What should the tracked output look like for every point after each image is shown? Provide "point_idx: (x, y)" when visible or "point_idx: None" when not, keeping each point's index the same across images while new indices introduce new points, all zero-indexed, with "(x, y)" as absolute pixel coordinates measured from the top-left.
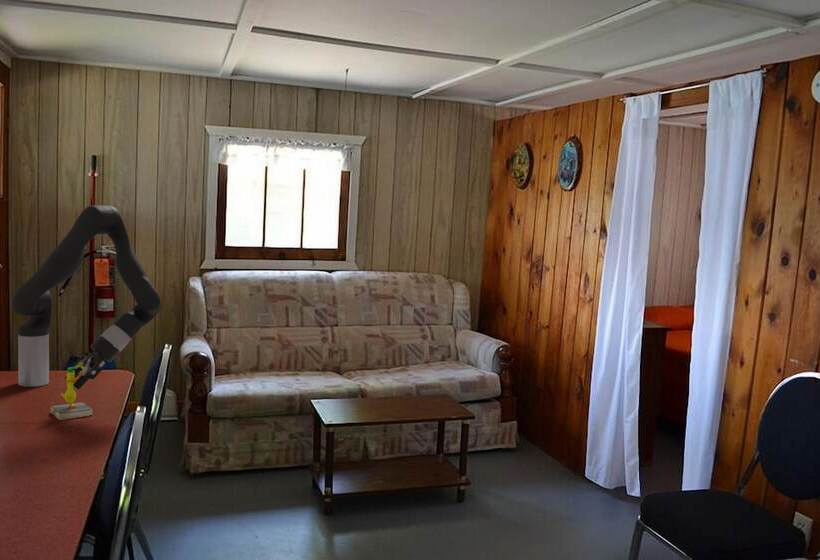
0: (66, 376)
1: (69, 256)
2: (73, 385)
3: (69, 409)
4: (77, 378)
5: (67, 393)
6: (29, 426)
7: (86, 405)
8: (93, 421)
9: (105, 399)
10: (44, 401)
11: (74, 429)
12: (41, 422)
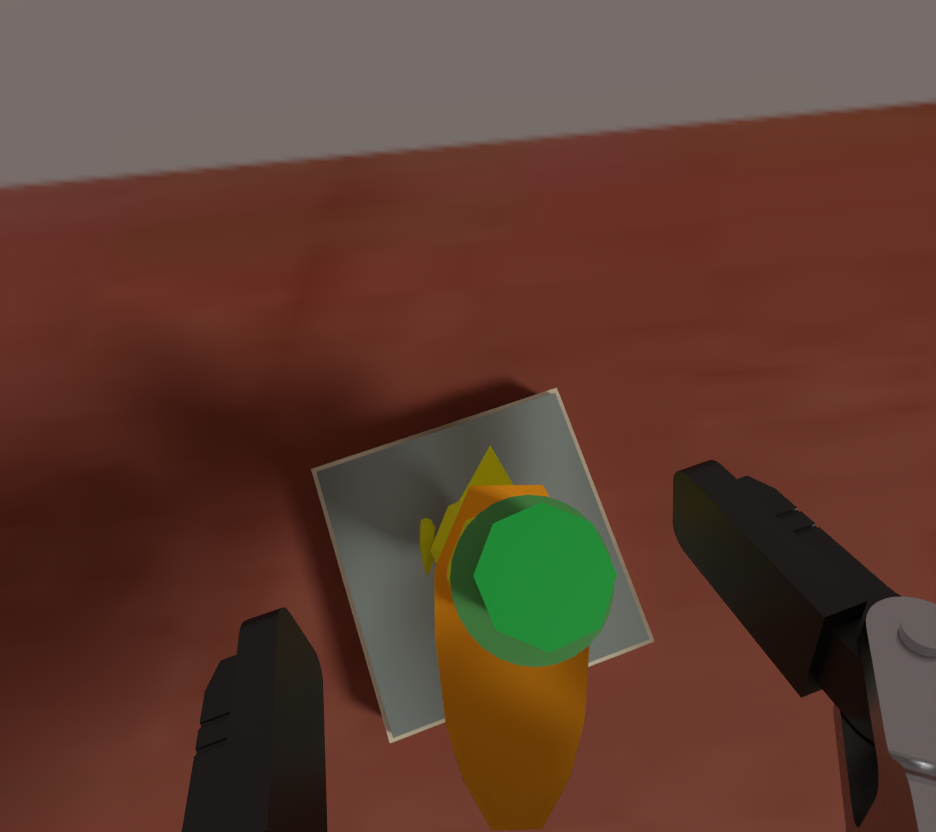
0: (729, 484)
1: None
2: (254, 618)
3: (417, 540)
4: (529, 677)
5: (452, 519)
6: (224, 290)
7: None
8: None
9: None
10: (882, 332)
11: (27, 599)
12: (302, 356)
